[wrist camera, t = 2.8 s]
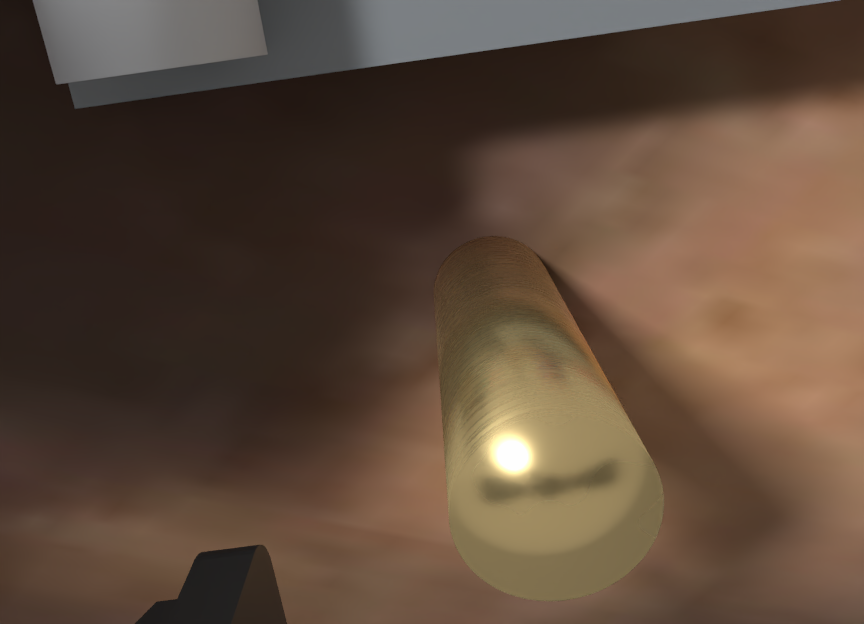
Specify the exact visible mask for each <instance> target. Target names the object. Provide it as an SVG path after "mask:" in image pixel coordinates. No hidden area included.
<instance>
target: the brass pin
mask: <svg viewBox="0 0 864 624" xmlns="http://www.w3.org/2000/svg"><path fill="white" fill-rule="evenodd" d="M434 306H435V320H436V335H437V350H438V364H439V379H440V394H441V408H442V423H443V438H444V452H445V467H446V482H447V496H448V511H449V525H450V530H451V534H452V538H453V541H454V543H455V546H456V548H457V550H458V552H459V554H460V555H461V557H462V559H463V560H464V561H465V563H466V564H467V565H468V566H469V568H470V569H471V570H472V571H473V572H474V573H475V574H476V575H477V576H479V577H480V578H481V579H482V580H484V581H485V582H487V583H488V584H489V585H491V586H493V587H495V588H497V589H498V590H500V591H503V592H505V593H508V594H510V595H513V596H517V597H520V598H524V599H530V600H537V601H562V600H570V599H575V598H580V597H583V596H587V595H590V594H593V593H595V592H598V591H600V590H603V589H605V588H607V587H608V586H610V585H612V584H614V583H616V582H617V581H618V580H620V579H621V578H623V577H624V576H626V575H627V574H628V573H629V572H630V571H631V570H632V569H634V568H635V567H636V566H637V565H638V564H639V562H640V561H641V560H642V559H643V558H644V557H645V555H646V554H647V552H648V551H649V549H650V548H651V546H652V545H653V543H654V541H655V539H656V537H657V535H658V532H659V529H660V526H661V523H662V517H663V512H664V494H663V486H662V483H661V479H660V476H659V473H658V471H657V469H656V467H655V464H654V462H653V461H652V459H651V457H650V455H649V453H648V452H647V450H646V448H645V446H644V444H643V443H642V441H641V439H640V437H639V435H638V434H637V432H636V430H635V428H634V426H633V425H632V423H631V421H630V419H629V417H628V416H627V414H626V412H625V410H624V408H623V407H622V405H621V403H620V401H619V399H618V398H617V396H616V394H615V392H614V390H613V389H612V387H611V385H610V383H609V381H608V380H607V378H606V376H605V374H604V372H603V371H602V369H601V367H600V365H599V363H598V362H597V360H596V358H595V356H594V354H593V353H592V351H591V349H590V347H589V345H588V344H587V342H586V340H585V338H584V336H583V335H582V333H581V331H580V329H579V327H578V326H577V324H576V322H575V320H574V318H573V317H572V315H571V313H570V311H569V309H568V308H567V306H566V304H565V302H564V300H563V299H562V297H561V295H560V293H559V291H558V290H557V288H556V286H555V284H554V282H553V281H552V279H551V277H550V275H549V273H548V272H547V270H546V268H545V266H544V264H543V263H542V261H541V260H540V258H539V257H538V256H537V255H536V254H535V253H534V252H533V251H532V250H531V249H530V248H529V247H527V246H525V245H524V244H522V243H520V242H518V241H516V240H513V239H510V238H506V237H499V236H489V237H482V238H477V239H474V240H471V241H469V242H467V243H465V244H463V245H461V246H460V247H458V248H457V249H456V250H454V251H453V252H452V253H451V254H450V255H449V256H448V257H447V258H446V260H445V261H444V263H443V264H442V265H441V267H440V269H439V271H438V274H437V277H436V280H435V285H434Z"/></svg>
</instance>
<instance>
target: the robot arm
mask: <svg viewBox="0 0 864 624" xmlns="http://www.w3.org/2000/svg"><path fill="white" fill-rule="evenodd" d="M135 624H287V622H286V618H285V614H284V610H283V606H282V602H281V598H280V594H279V590H278V586H277V582H276V578H275V574H274V570H273V566H272V562H271V558H270V555H269V553H268V551H267V549H266V548H265V546H263V545H255V546H247V547H239V548H231V549H223V550H216V551H208V552H201V553H199V554H198V556H197V557H196V559H195V560H194V563H193V565H192V567H191V569H190V572H189V574H188V576H187V578H186V581H185V583H184V585H183V588H182V590H181V592H180V594H179V597H178V599H176V600H168V601H160V602H156V603H155V604H154V605H153V606H152V607H151V608H150V609H149V610H148V611H147V612H146V613H145V614H144V615H143V616H142V617H141V618H140V619H139V620H138V621H137V622H136V623H135Z"/></svg>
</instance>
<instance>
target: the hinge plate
mask: <svg viewBox="0 0 864 624" xmlns="http://www.w3.org/2000/svg"><path fill="white" fill-rule="evenodd" d="M832 1H839V0H33V4H34V7H35V11H36V14H37V18H38V22H39V25H40V29H41V32H42V36H43V40H44V43H45V47H46V50H47V54H48V58H49V61H50V65H51V68H52V72H53V75H54V79H55V83H56V84H64V83H68V85H69V89H70V92H71V96H72V100H73V103H74V107H75V109H78V108H85V107H92V106H99V105H106V104H113V103H120V102H127V101H134V100H141V99H148V98H155V97H162V96H169V95H176V94H183V93H191V92H198V91H205V90H212V89H219V88H226V87H233V86H240V85H247V84H254V83H261V82H268V81H275V80H282V79H289V78H296V77H303V76H310V75H317V74H324V73H332V72H339V71H346V70H353V69H360V68H367V67H374V66H381V65H388V64H395V63H402V62H409V61H416V60H423V59H430V58H437V57H444V56H451V55H458V54H465V53H472V52H480V51H487V50H494V49H501V48H508V47H515V46H522V45H529V44H536V43H543V42H550V41H557V40H564V39H571V38H578V37H585V36H592V35H599V34H606V33H613V32H621V31H628V30H635V29H642V28H649V27H656V26H663V25H670V24H677V23H684V22H691V21H698V20H705V19H712V18H719V17H726V16H733V15H740V14H747V13H754V12H762V11H769V10H776V9H783V8H790V7H797V6H804V5H811V4H818V3H825V2H832Z"/></svg>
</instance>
